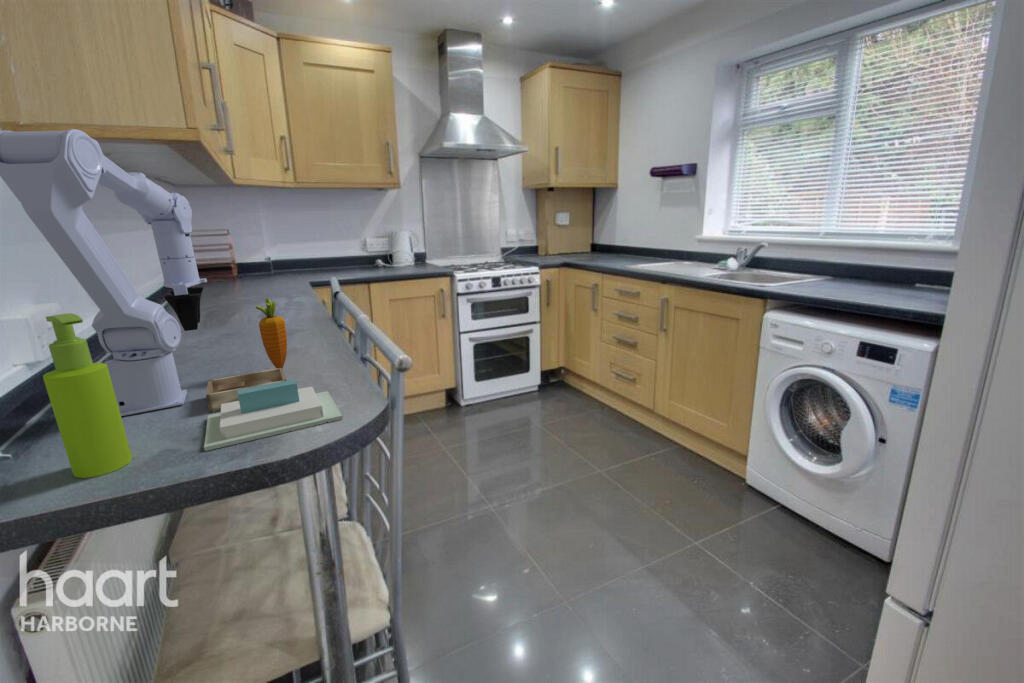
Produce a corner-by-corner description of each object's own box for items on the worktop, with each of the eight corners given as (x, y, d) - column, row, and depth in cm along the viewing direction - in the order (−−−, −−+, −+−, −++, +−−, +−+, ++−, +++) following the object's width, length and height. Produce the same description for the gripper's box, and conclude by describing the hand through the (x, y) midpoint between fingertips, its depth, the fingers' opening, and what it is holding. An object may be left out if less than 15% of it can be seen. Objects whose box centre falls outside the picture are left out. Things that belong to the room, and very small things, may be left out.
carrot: (286, 373, 96) (273, 301, 92) (262, 374, 96) (248, 301, 92) (297, 366, 101) (285, 296, 97) (274, 366, 101) (262, 297, 97)
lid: (222, 439, 66) (215, 407, 64) (223, 414, 74) (217, 386, 73) (323, 416, 72) (319, 387, 71) (313, 396, 81) (309, 369, 79)
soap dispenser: (86, 485, 56) (36, 322, 51) (66, 471, 60) (17, 317, 55) (143, 463, 61) (103, 312, 56) (121, 451, 65) (81, 308, 60)
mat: (204, 451, 64) (204, 447, 63) (208, 418, 74) (208, 415, 74) (342, 419, 72) (342, 415, 72) (328, 394, 83) (327, 391, 83)
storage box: (209, 412, 77) (205, 395, 76) (211, 396, 85) (208, 380, 84) (289, 396, 83) (286, 380, 82) (284, 382, 90) (282, 367, 90)
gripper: (199, 258, 86) (214, 330, 90) (203, 254, 99) (216, 317, 102) (152, 261, 83) (170, 335, 87) (162, 257, 95) (177, 322, 99)
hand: (192, 326), depth 94 cm, fingers open, 7 cm apart
